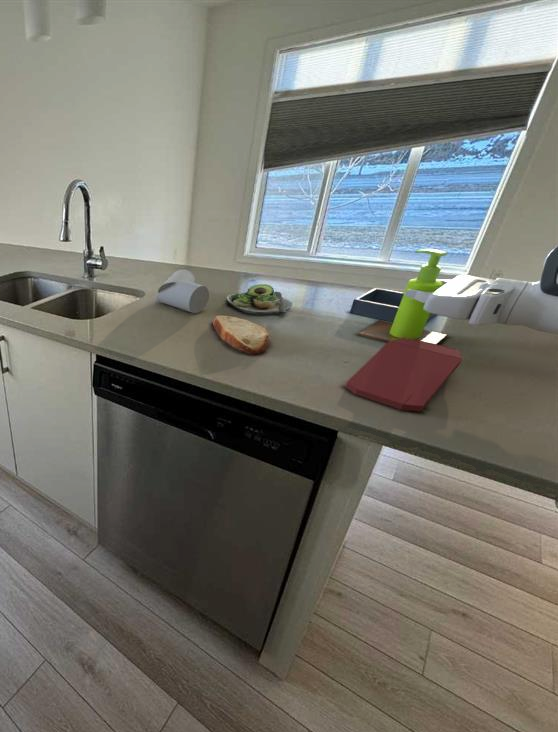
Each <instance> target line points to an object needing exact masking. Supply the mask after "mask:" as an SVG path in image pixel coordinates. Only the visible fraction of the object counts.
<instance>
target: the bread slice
mask: <svg viewBox="0 0 558 732" xmlns="http://www.w3.org/2000/svg"><path fill="white" fill-rule="evenodd" d="M212 325H213V328H214V330H215V331H216V333H217V334H218V337H220V339H221V340H222V342H224V343H227V345H228V346H230V347H232V348H233V349H235V350H236V351H238V352H241V353H245V354H248V355H258V354H259V355H260V354H263V353H265V351H266V350H267V349H268V347H269V346H270V345H271V341H272V340H271V337H270V334H269V332H268V330H267V329H266V328H264V327H263V326H262V325H260V324H257V323H254V322H252V321H250V320H248V319H245V318H241V317H240V318H239V317H237V316H231V315H230V316H229V315H216V316H215V318H214V320H213V322H212Z"/></svg>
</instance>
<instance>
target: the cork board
mask: <svg viewBox="0 0 558 732" xmlns="http://www.w3.org/2000/svg"><path fill="white" fill-rule="evenodd" d="M392 324H393V322H390V321H386V320H381V319H378V320H377V321H375V322H374V323H372V324H370V325H369V326H368V327H366V328H364V329H363V330H361V331H360V332H358V334H357V336H361V337H365V338H369V339H373V340H377V341H379V342H385V343H388V342H389V341H391V340H396V339H400V338H398V337H395V336H393V335H391V334H390V330H391V327H392ZM447 337H448V334H446V333H442V332H438V331H437V332H436V331H432V330H428V329H423V332H422V334H421V336H420V338H418V339H415V340H420V341H424V342H429V343H433V344H437V345H440V343H441V342H443V340H445V339H446V338H447Z"/></svg>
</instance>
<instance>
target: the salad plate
mask: <svg viewBox="0 0 558 732" xmlns="http://www.w3.org/2000/svg"><path fill="white" fill-rule="evenodd" d="M282 295H283V294H282V293H281V291H275V290H274V287H273V286H272V285H270V284H266V283H265V284H262V283H260V284H256V285H252V286H250V287H248V288H247V291H246V292H241V293H231V294H228V295H227V296H226V298H225V299H226V300H225V301H226V303H227V304H228V305H229V306H231V307H233V308H234V309H236V310H238V311H240V312H243V313H245V314H248V315H255V316H267V315H277V314H280V313H281V314H282V313H287V310H290V309H291V308H292V307H293V305H294V303H293V302H292V301H290V300H289V299H286V298H284V297H283V296H282Z"/></svg>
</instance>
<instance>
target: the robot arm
mask: <svg viewBox="0 0 558 732" xmlns="http://www.w3.org/2000/svg"><path fill="white" fill-rule="evenodd" d="M437 281H440V282H442V283H443V284H442V286H441V287H440V288H439V289H437V290H436V291H434V292H423V291H419V289H413V288H412V289H409V290H408V291H407V293H406V295H405V296H406V297H407V298H413V299H416V300H418V301H420V302H423V303H425V305H424V308H423V309H424V310H425V311H427V312H430V313H433V314H436V315H438V316H441V317H445V318H450V319H454V320H459V321H460V320H461V321H467V323H468V324H469V325H473V326H483V325H489V324H500V325H506V326H522V327H527V328H529V329H531V330H535V331H538V332H541V333H542V332H543V333H549V334H554V335H558V245H557V246H556V247H555V248H553V249H552V250H551V251H550V252H549V253H548V254H547V256H546V257H545V259H544V261H543V264H542V273H541V278H540V279H539V280H538V281H529V280H528V281H527V280H519V279H511V278H503V277H497V278H496V279H492V278H487V277H481V276H474V275H468V274H460V275H457V276H455V277H454V278H452V279H437Z"/></svg>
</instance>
